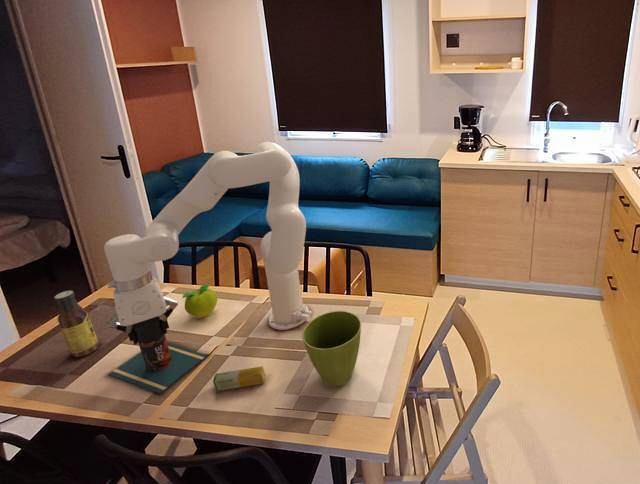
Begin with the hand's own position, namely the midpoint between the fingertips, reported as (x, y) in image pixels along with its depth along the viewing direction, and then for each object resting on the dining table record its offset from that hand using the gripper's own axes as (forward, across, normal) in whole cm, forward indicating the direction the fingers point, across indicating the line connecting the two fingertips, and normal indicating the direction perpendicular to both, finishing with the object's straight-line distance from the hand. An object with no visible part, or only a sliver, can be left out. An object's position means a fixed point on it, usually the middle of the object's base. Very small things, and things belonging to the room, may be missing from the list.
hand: (150, 335), depth 108 cm
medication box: (+11, +17, -22) cm, 30 cm away
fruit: (+11, +13, +18) cm, 25 cm away
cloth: (+10, 0, 0) cm, 10 cm away
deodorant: (+10, 0, 0) cm, 10 cm away
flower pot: (+11, +39, -35) cm, 54 cm away
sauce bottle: (+11, -18, +21) cm, 29 cm away
